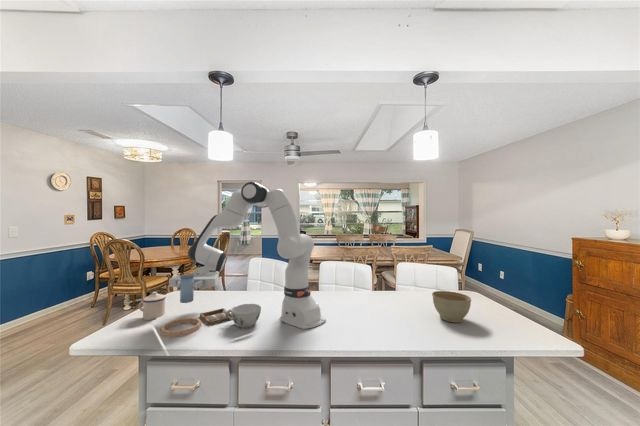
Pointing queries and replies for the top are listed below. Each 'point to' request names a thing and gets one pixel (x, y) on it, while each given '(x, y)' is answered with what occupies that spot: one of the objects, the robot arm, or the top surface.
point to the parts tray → (207, 315)
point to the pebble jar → (186, 288)
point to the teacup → (245, 315)
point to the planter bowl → (451, 305)
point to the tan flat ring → (180, 332)
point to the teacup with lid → (153, 306)
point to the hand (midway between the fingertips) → (186, 285)
